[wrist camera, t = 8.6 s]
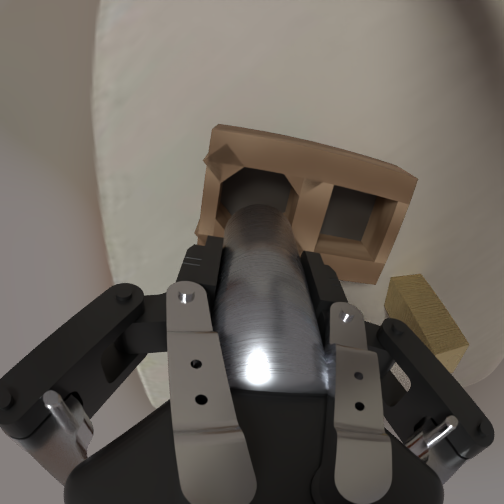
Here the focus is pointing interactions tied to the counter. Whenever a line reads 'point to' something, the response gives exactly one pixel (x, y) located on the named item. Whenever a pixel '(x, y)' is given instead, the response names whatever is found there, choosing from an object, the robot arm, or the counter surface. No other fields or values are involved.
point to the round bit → (266, 307)
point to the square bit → (426, 318)
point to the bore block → (308, 196)
